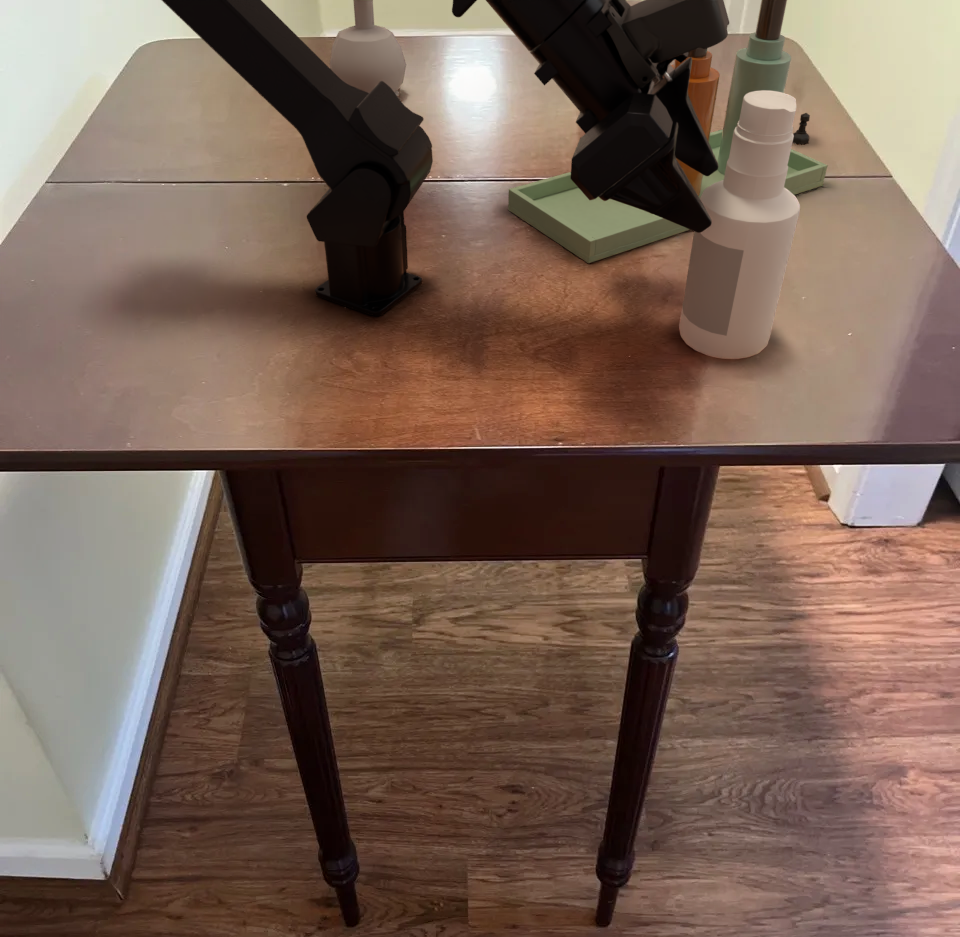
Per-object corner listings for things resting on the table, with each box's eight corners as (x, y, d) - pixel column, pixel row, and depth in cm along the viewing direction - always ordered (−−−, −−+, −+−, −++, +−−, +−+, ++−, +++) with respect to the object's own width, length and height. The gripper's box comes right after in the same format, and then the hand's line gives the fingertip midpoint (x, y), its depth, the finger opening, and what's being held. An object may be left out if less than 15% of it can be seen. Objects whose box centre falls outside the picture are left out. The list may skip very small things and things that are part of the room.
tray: (588, 263, 82) (590, 241, 81) (507, 210, 90) (508, 188, 88) (822, 185, 94) (828, 165, 93) (734, 144, 102) (737, 124, 101)
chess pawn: (813, 140, 103) (820, 112, 101) (803, 146, 102) (809, 117, 100) (796, 135, 104) (803, 107, 102) (786, 140, 103) (792, 112, 101)
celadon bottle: (757, 184, 93) (793, 6, 82) (708, 172, 95) (738, -3, 84) (774, 166, 96) (811, -8, 86) (727, 155, 98) (757, -16, 88)
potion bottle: (404, 109, 109) (396, -69, 97) (326, 108, 109) (308, -70, 97) (410, 83, 116) (403, -87, 104) (336, 81, 116) (321, -88, 104)
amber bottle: (688, 206, 89) (717, 22, 79) (639, 193, 91) (660, 13, 81) (708, 187, 92) (738, 8, 82) (660, 175, 94) (684, -1, 84)
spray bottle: (697, 304, 77) (737, 74, 65) (780, 328, 74) (837, 93, 63) (664, 344, 73) (701, 105, 61) (751, 371, 70) (807, 126, 58)
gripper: (646, -39, 50) (816, 184, 55) (675, -106, 64) (809, 77, 69) (497, 101, 56) (662, 288, 62) (553, 12, 70) (684, 171, 76)
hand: (709, 198), depth 67 cm, fingers open, 9 cm apart
